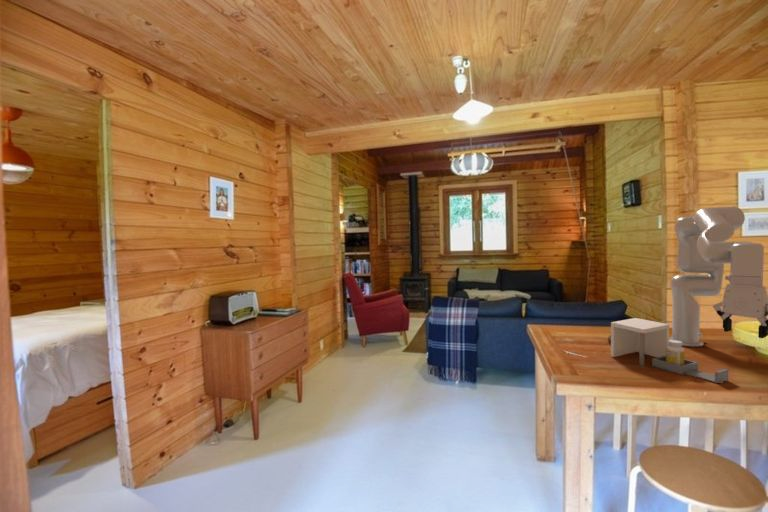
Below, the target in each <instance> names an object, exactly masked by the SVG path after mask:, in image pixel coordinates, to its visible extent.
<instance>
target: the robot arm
mask: <svg viewBox="0 0 768 512" xmlns="http://www.w3.org/2000/svg"><path fill="white" fill-rule="evenodd" d="M745 219H746V217H745V213H744V211H743V210H742V209H741V208H740V207H737V206H718V207H717V206H716V207H713V206H712V207H706V208H701V209H699V210H698V211H696V212H695V213H694V215H690V216H681V217H679V218H678V219H677V220H676V221H675V223H674V232H675V234H676V235H675V236H676V237H677V244H678V246H677V255H676V268H677V270H678V271H680V272H681V273H686V274H678V275H677V274H676V275H674V276H673V277H672V278H671V280H670V288H671V296H672V324H671V325H672V327H671V329H672V331H671V336H669V340H677V341H681V342H682V346H684V347H695V348H696V347H698V348H699V347H702V346H704V341H702V340H700V338H701V337H703V333H702V332H700V316H701V315H700V314H701V313H700V311H701V308H700V304H699V302H698V301H697V300H696V299H695V298H694V297H716V296H718V295H720V293H721V291H722V286H723V279H724V280H725V281H728V282H729V283H726V285H725V289H724V292H723V298H722V301H721V302H718V303H715V304H713V305H712V308H713V309H714V311H715V312H716V314H717V315H718V316H719V317H720V318H721V319H722V329H723V331H724V332H726V333H728V332H732V326H733V325H732V324H733V323H732V321H733V319H732V318H731V317H732V316H738V317H744V318H745V317H746V318H751V319H752V318H753V319H756V320H757V321H758V322H759V324H760V325H758V338H759V339H765V338H767V336H768V318H767V317H768V291H767V288H766V286H764V285H763V284H764V283H763V282H764V257H765V255H764V253H765V246H764V245H763V244H761V243H758V242H751V241H728V240H729V239H731V238H732V237H733V236H734V233H735V231H737V230H738V229H740V227H742V226H743V225H744V223H745ZM725 264H730V271H729V274H728V275H726V276H724V269H725ZM688 273H690V274H688ZM691 273H692V274H691ZM694 273H695V274H694ZM723 277H724V278H723Z"/></svg>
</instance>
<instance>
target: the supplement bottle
mask: <svg viewBox="0 0 768 512" xmlns="http://www.w3.org/2000/svg"><path fill="white" fill-rule="evenodd" d="M682 346H683V345H682V342H681V341H677V340H669V346H667V347H666V362H668V363H672V364H675V365H679V366H683V365H684V359H685V348H683V347H682Z"/></svg>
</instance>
